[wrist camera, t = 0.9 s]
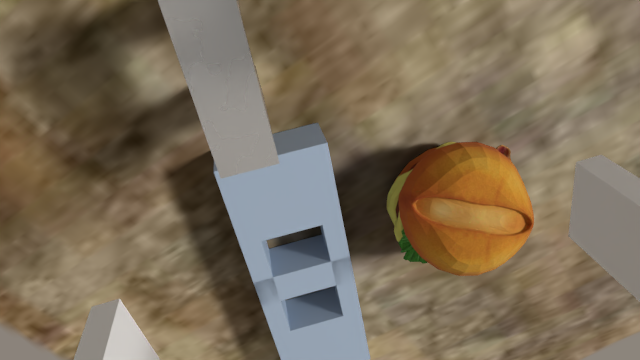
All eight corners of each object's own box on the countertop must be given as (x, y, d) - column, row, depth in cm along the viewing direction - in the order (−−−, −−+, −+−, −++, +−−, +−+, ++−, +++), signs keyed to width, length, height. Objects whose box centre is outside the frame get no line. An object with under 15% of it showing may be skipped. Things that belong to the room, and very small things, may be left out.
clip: (174, -33, 26) (151, -16, 17) (225, -45, 26) (227, -33, 18) (221, 111, 30) (220, 178, 22) (264, 100, 30) (279, 163, 22)
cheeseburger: (401, 262, 40) (438, 331, 30) (355, 157, 37) (380, 196, 27) (507, 216, 39) (578, 270, 30) (469, 105, 36) (535, 126, 27)
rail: (214, 148, 31) (213, 171, 28) (317, 122, 32) (327, 142, 29) (284, 350, 43) (289, 382, 40) (360, 329, 43) (370, 359, 40)
